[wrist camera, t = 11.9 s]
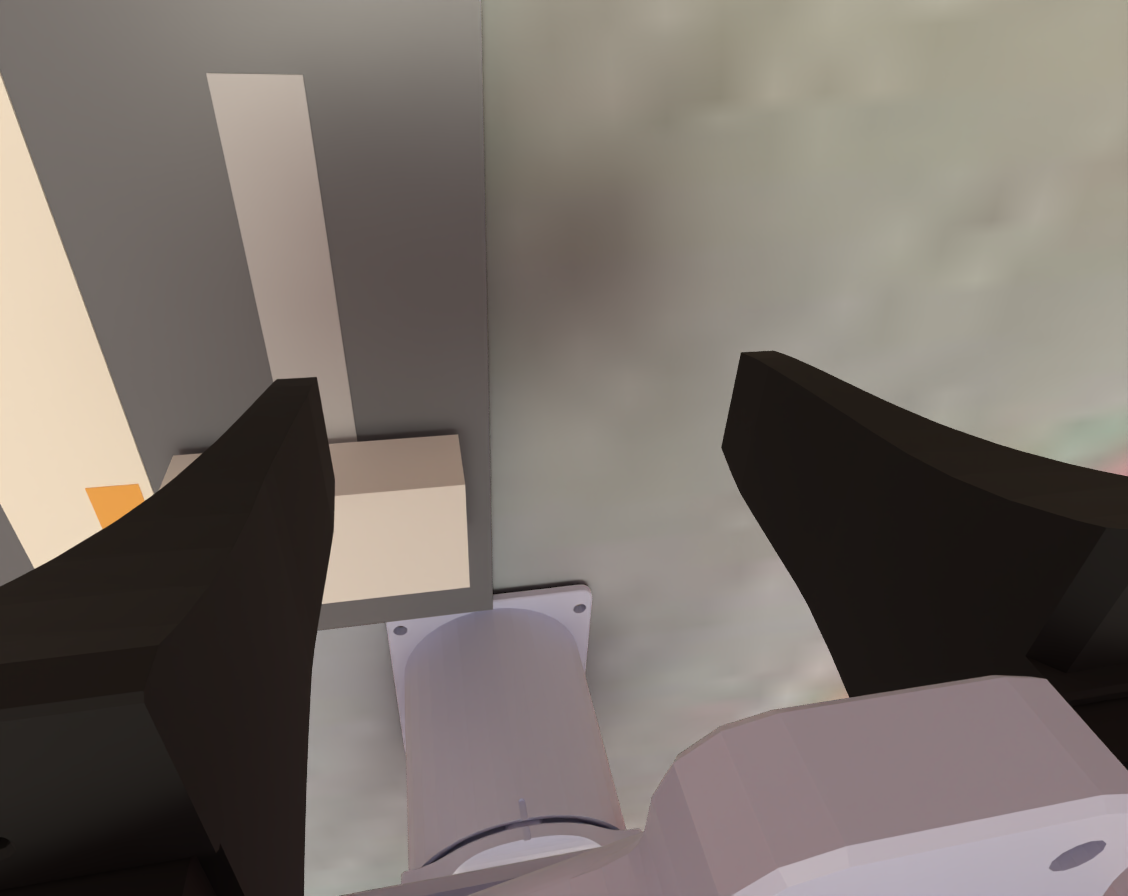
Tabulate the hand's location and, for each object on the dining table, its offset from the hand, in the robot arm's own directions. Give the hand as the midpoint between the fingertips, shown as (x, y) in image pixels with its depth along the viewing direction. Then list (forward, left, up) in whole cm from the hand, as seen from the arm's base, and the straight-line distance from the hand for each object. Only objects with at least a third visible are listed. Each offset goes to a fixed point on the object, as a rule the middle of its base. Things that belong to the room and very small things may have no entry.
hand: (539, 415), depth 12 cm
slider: (-8, +5, -8) cm, 12 cm away
